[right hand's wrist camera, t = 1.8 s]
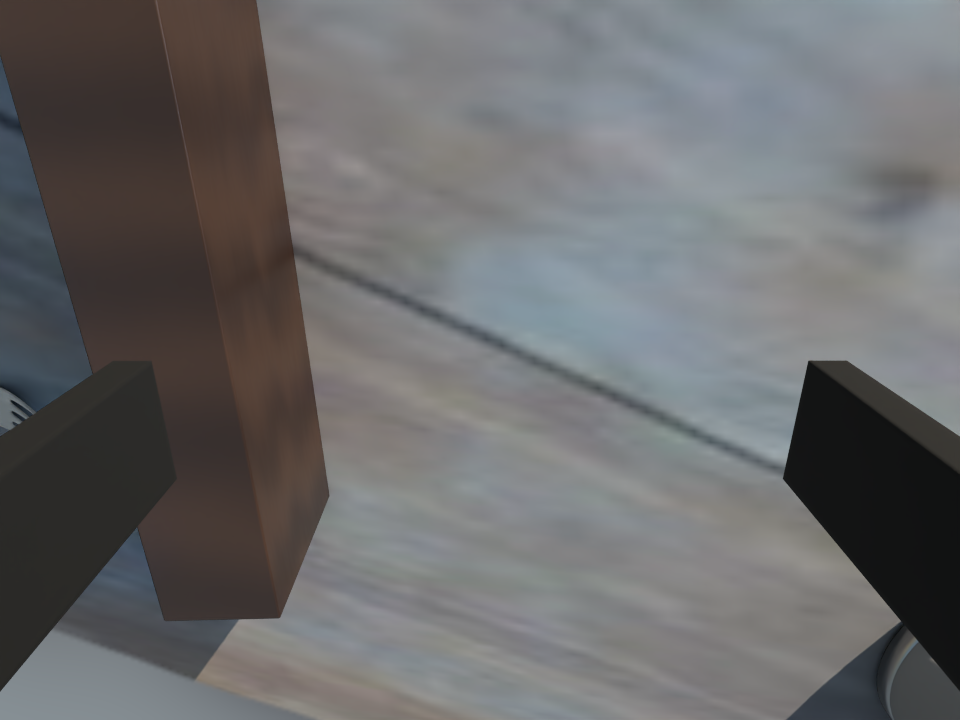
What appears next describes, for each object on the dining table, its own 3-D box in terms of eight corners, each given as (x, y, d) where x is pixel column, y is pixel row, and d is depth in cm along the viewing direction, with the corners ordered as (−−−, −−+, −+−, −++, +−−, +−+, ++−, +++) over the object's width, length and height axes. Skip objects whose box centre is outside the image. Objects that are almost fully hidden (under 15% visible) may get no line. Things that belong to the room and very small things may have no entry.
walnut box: (329, 496, 38) (280, 619, 29) (241, 498, 38) (163, 622, 29) (244, -82, 27) (118, -188, 18) (120, -77, 27) (-70, -179, 18)
